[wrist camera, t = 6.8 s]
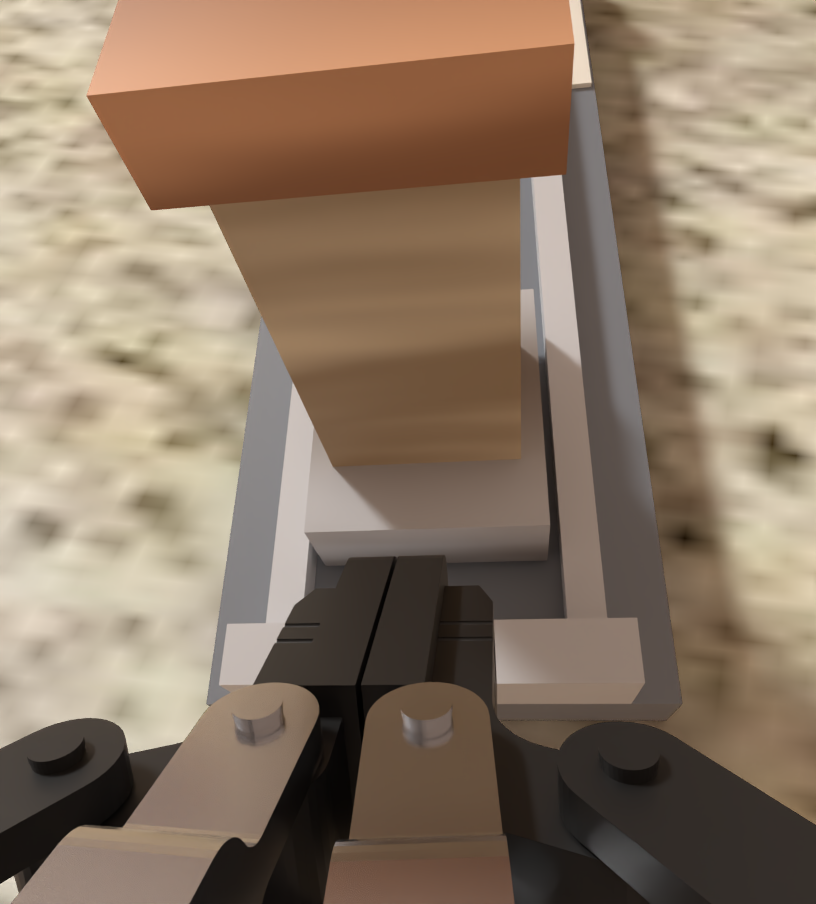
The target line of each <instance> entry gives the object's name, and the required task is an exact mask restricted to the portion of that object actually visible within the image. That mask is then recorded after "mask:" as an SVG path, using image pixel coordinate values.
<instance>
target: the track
mask: <svg viewBox="0 0 816 904" xmlns="http://www.w3.org/2000/svg"><path fill="white" fill-rule="evenodd" d="M569 4H570V12H571V20H572V28H573V35H574V43H575V44H574V60H573V76H572V92H571V108H570V123H569V139H568V155H567V171H566V175H556V176H544V177H532V178H521V179H520V280H521V290H524V289H533V290H534V304H535V318H536V332H537V346H538V360H539V374H540V388H541V402H542V416H543V430H544V445H545V459H546V473H547V487H548V501H549V515H550V534H549V547H548V559H547V560H546V561H505V562H464V563H447V573H448V586H472V585H479V586H480V587H481V588H482V589H483V590H484V592H485V593H486V594H487V595H488V596H489V597H490V599H491V600H492V601H493V613H494V634H495V655H496V675H497V718H498V719H499V720H667V719H668V718H669V717H670V716H671V715H672V714H673V713H674V712H675V711H676V710H677V709H678V708H679V707H680V706H681V705H682V697H681V690H680V683H679V676H678V669H677V662H676V655H675V648H674V641H673V634H672V627H671V620H670V613H669V606H668V599H667V592H666V585H665V578H664V571H663V564H662V557H661V550H660V543H659V536H658V529H657V522H656V515H655V508H654V501H653V494H652V487H651V480H650V473H649V466H648V459H647V452H646V445H645V438H644V431H643V424H642V417H641V410H640V403H639V396H638V389H637V382H636V375H635V368H634V361H633V354H632V347H631V340H630V333H629V326H628V319H627V312H626V305H625V297H624V290H623V283H622V276H621V269H620V262H619V255H618V248H617V241H616V234H615V227H614V220H613V213H612V206H611V199H610V192H609V185H608V178H607V171H606V164H605V157H604V150H603V143H602V136H601V129H600V122H599V115H598V108H597V101H596V94H595V87H594V80H593V73H592V66H591V59H590V52H589V45H588V38H587V31H586V24H585V17H584V10H583V3H582V0H569ZM313 430H314V426H313V424H312V422H311V420H310V417H309V415H308V413H307V411H306V409H305V407H304V405H303V403H302V401H301V398H300V396H299V394H298V392H297V390H296V388H295V386H294V384H293V381H292V379H291V377H290V375H289V373H288V371H287V369H286V367H285V364H284V362H283V360H282V358H281V356H280V354H279V352H278V350H277V348H276V345H275V343H274V341H273V339H272V337H271V335H270V333H269V331H268V328H267V326H266V324H265V322H264V320H263V318H262V316H261V322H260V329H259V336H258V343H257V351H256V358H255V365H254V372H253V379H252V386H251V393H250V400H249V407H248V414H247V421H246V428H245V435H244V442H243V449H242V456H241V463H240V471H239V478H238V485H237V492H236V499H235V506H234V513H233V520H232V527H231V534H230V541H229V548H228V555H227V562H226V569H225V576H224V583H223V591H222V598H221V605H220V612H219V619H218V626H217V633H216V640H215V647H214V654H213V661H212V668H211V675H210V682H209V689H208V696H207V703H206V704H207V705H209V706H211V705H212V704H213V703H214V702H216V701H217V700H219V699H220V698H222V697H223V696H225V695H227V694H229V693H231V692H233V691H236V690H238V689H241V688H244V687H248V686H251V685H253V683H254V682H255V680H256V678H257V676H258V674H259V672H260V670H261V668H262V666H263V664H264V662H265V660H266V659H267V657H268V655H269V653H270V651H271V649H272V647H273V645H274V643H277V637H278V636H279V634H280V632H281V630H282V628H283V627H285V622H286V620H287V618H288V616H289V614H290V612H291V611H292V609H293V607H294V605H295V604H296V603H298V602H299V601H300V600H302V599H303V598H304V597H305V596H307V595H308V594H309V593H311V592H312V591H313V590H315V589H320V588H336V586H337V583H338V581H339V579H340V576H341V574H342V572H343V570H344V567H345V565H341V566H325V564H324V563H323V561H322V559H321V558H320V556H319V555H318V553H317V552H316V550H315V549H314V547H313V546H312V544H311V542H310V541H309V539H308V538H307V536H306V535H305V533H304V527H305V516H306V506H307V495H308V484H309V473H310V463H311V452H312V441H313Z"/></svg>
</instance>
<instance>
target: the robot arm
mask: <svg viewBox="0 0 816 904" xmlns="http://www.w3.org/2000/svg"><path fill="white" fill-rule="evenodd" d="M12 876H14V877H15V881H16V885H17V888H18V892H19V894H18V895H17V897H16V898H15V899H14V900H13V902H12V903H11V904H816V825H815V824H813V823H812V822H810V821H808V820H807V819H805V818H804V817H802V816H800V815H799V814H797V813H796V812H794V811H792V810H791V809H789V808H788V807H786V806H784V805H783V804H781V803H780V802H778V801H776V800H775V799H773V798H772V797H770V796H768V795H767V794H765V793H764V792H762V791H760V790H759V789H757V788H756V787H754V786H752V785H751V784H749V783H748V782H746V781H744V780H743V779H741V778H740V777H738V776H736V775H735V774H733V773H732V772H730V771H728V770H727V769H725V768H724V767H722V766H720V765H719V764H717V763H716V762H714V761H712V760H711V759H709V758H708V757H706V756H705V755H703V754H701V753H700V752H698V751H697V750H695V749H693V748H692V747H690V746H689V745H687V744H685V743H684V742H682V741H681V740H679V739H677V738H676V737H674V736H672V735H670V734H668V733H667V732H664V731H662V730H659V729H657V728H654V727H651V726H647V725H644V724H638V723H633V722H604V723H597V724H594V725H590V726H587V727H585V728H582V729H580V730H578V731H576V732H575V733H573V734H572V735H570V736H569V737H568V738H567V739H566V740H565V741H564V743H563V744H562V746H561V747H560V750H556V749H552V748H548V747H544V746H541V745H537V744H534V743H531V742H529V741H526V740H524V739H522V738H520V737H518V736H517V735H515V734H513V733H512V732H511V731H509V730H508V729H507V728H506V727H505V726H504V725H503V724H502V723H501V722H500V721H499V719H498V718H497V675H496V655H495V634H494V613H493V601H492V600H491V599H490V597H489V596H488V595H487V594H486V593H485V592H484V590H483V589H482V588H481V587H480V586H479V585H472V586H448V573H447V562H446V557H445V555H422V556H398V558H396V556H386V557H350V558H349V559H348V560H347V563H346V565H345V567H344V570H343V572H342V574H341V576H340V579H339V581H338V583H337V586H336V588H320V589H315V590H313V591H312V592H311V593H309V594H308V595H307V596H305V597H304V598H303V599H302V600H300V601H299V602H298V603H296V604H295V605H294V607H293V609H292V611H291V612H290V614H289V616H288V618H287V620H286V622H285V627H283V628H282V630H281V632H280V634H279V636H278V637H277V643H274V645H273V647H272V649H271V651H270V653H269V655H268V657H267V659H266V660H265V662H264V664H263V666H262V668H261V670H260V672H259V674H258V676H257V678H256V680H255V682H254V683H253V685H251V686H248V687H244V688H241V689H238V690H236V691H233V692H231V693H229V694H227V695H225V696H223V697H222V698H220V699H219V700H217V701H216V702H214V703H213V704H212V705H211V706H210V707H209V708H208V709H207V710H206V711H205V712H204V714H203V715H202V716H201V718H200V719H199V720H198V722H197V723H196V725H195V726H194V728H193V729H192V730H191V732H190V733H189V735H188V736H187V737H186V739H185V740H184V742H181V743H177V744H173V745H169V746H164V747H159V748H154V749H149V750H145V751H140V752H135V753H130V754H129V753H128V748H127V744H126V739H125V735H124V733H123V730H122V729H121V728H120V727H119V726H118V725H116V724H115V723H113V722H110V721H108V720H103V719H96V718H84V719H75V720H69V721H65V722H61V723H57V724H54V725H51V726H48V727H45V728H43V729H41V730H39V731H36V732H34V733H32V734H30V735H28V736H26V737H24V738H22V739H20V740H18V741H16V742H14V743H11V744H9V745H7V746H5V747H3V748H1V749H0V884H1V883H2V882H4V881H6V880H7V879H9V878H11V877H12Z"/></svg>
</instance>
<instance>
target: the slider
mask: <svg viewBox="0 0 816 904" xmlns="http://www.w3.org/2000/svg"><path fill="white" fill-rule="evenodd" d="M574 44H575V43H574V35H573V28H572V20H571V12H570V4H569V0H118V3H117V6H116V9H115V12H114V15H113V18H112V21H111V24H110V27H109V30H108V33H107V36H106V39H105V42H104V45H103V48H102V51H101V54H100V57H99V60H98V63H97V66H96V69H95V72H94V75H93V78H92V81H91V84H90V87H89V90H88V93H87V98H88V99H89V101H90V103H91V105H92V106H93V108H94V110H95V112H96V113H97V115H98V117H99V119H100V121H101V122H102V124H103V126H104V128H105V129H106V131H107V133H108V135H109V137H110V138H111V140H112V142H113V144H114V145H115V147H116V149H117V151H118V152H119V154H120V156H121V158H122V160H123V161H124V163H125V165H126V167H127V168H128V170H129V172H130V174H131V176H132V177H133V179H134V181H135V183H136V184H137V186H138V188H139V190H140V191H141V193H142V195H143V197H144V199H145V200H146V202H147V204H148V206H149V207H150V209H151V210H161V209H172V208H184V207H195V206H207V205H209V206H210V208H211V210H212V212H213V214H214V216H215V218H216V220H217V222H218V225H219V227H220V229H221V231H222V233H223V235H224V237H225V239H226V242H227V244H228V246H229V248H230V250H231V252H232V254H233V256H234V258H235V261H236V263H237V265H238V267H239V269H240V271H241V273H242V275H243V278H244V280H245V282H246V284H247V286H248V288H249V290H250V292H251V295H252V297H253V299H254V301H255V303H256V305H257V307H258V309H259V311H260V314H261V316H262V318H263V320H264V322H265V324H266V326H267V328H268V331H269V333H270V335H271V337H272V339H273V341H274V343H275V345H276V348H277V350H278V352H279V354H280V356H281V358H282V360H283V362H284V364H285V367H286V369H287V371H288V373H289V375H290V377H291V379H292V381H293V384H294V386H295V388H296V390H297V392H298V394H299V396H300V398H301V401H302V403H303V405H304V407H305V409H306V411H307V413H308V415H309V417H310V420H311V422H312V424H313V426H314V430H313V441H312V452H311V463H310V473H309V484H308V495H307V506H306V516H305V527H304V533H305V535H306V536H307V538H308V539H309V541H310V542H311V544H312V546H313V547H314V549H315V550H316V552H317V553H318V555H319V556H320V558H321V559H322V561H323V563H324V564H325V566H341V565H346V563H347V560H348V559H349V558H350V557H386V556H396V558H398V556H422V555H445V557H446V562H447V563H464V562H505V561H546V560H547V559H548V547H549V534H550V515H549V501H548V487H547V473H546V459H545V445H544V430H543V416H542V402H541V388H540V374H539V360H538V346H537V332H536V318H535V304H534V290H533V289H524V290H521V280H520V179H521V178H532V177H544V176H556V175H566V171H567V155H568V139H569V123H570V108H571V92H572V76H573V60H574Z"/></svg>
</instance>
